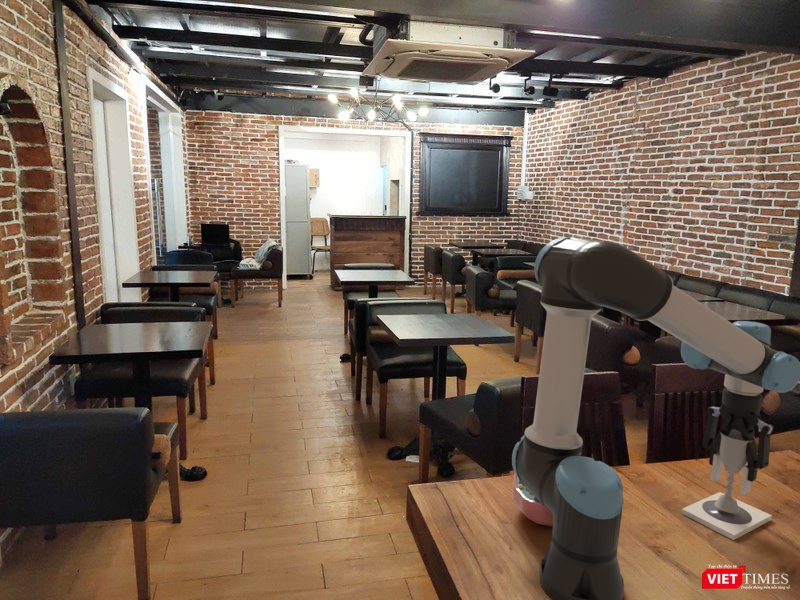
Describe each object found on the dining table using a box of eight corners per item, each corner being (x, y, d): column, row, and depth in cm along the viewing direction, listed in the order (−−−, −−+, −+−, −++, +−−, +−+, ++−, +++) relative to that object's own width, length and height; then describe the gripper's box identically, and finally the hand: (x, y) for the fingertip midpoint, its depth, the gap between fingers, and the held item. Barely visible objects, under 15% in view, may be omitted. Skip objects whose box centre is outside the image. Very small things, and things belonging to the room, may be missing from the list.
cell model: (498, 528, 122) (501, 480, 120) (522, 488, 140) (525, 446, 138) (577, 551, 115) (581, 501, 113) (592, 506, 132) (596, 462, 130)
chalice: (751, 516, 125) (762, 441, 122) (720, 515, 125) (731, 440, 122) (732, 499, 132) (742, 428, 129) (704, 498, 132) (713, 427, 129)
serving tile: (733, 540, 120) (734, 534, 120) (681, 513, 130) (681, 508, 130) (771, 520, 128) (771, 514, 128) (719, 496, 138) (719, 491, 138)
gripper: (798, 400, 118) (783, 500, 121) (710, 376, 134) (699, 465, 137) (781, 406, 114) (765, 509, 118) (692, 380, 130) (681, 472, 134)
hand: (729, 485), depth 128 cm, fingers closed on chalice, 6 cm apart
